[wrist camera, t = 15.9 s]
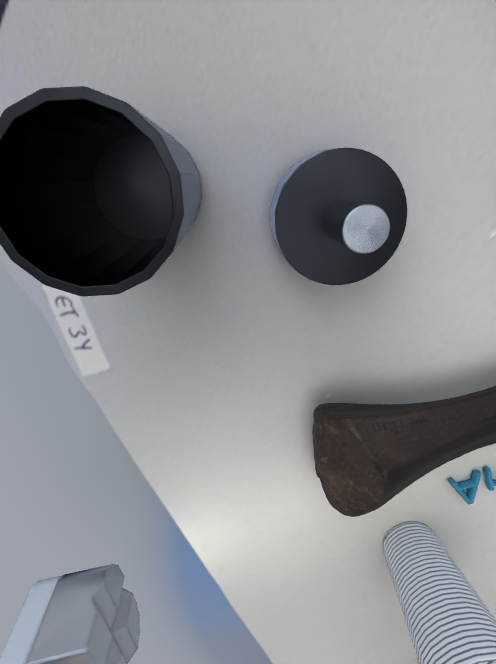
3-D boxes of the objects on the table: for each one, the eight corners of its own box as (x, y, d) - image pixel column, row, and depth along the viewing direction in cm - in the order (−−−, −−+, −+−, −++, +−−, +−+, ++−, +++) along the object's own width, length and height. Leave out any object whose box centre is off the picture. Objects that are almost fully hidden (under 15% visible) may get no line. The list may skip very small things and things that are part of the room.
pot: (99, 247, 36) (6, 301, 21) (80, 131, 33) (-48, 92, 18) (205, 241, 37) (191, 289, 21) (196, 125, 33) (171, 82, 18)
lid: (275, 285, 35) (287, 311, 28) (271, 152, 31) (284, 145, 25) (396, 278, 35) (437, 302, 28) (406, 145, 31) (455, 137, 25)
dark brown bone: (301, 445, 46) (533, 359, 48) (342, 544, 39) (613, 440, 41) (290, 391, 38) (571, 291, 40) (340, 504, 31) (678, 377, 33)
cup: (452, 513, 48) (551, 659, 34) (433, 569, 51) (516, 726, 37) (379, 510, 48) (448, 657, 33) (364, 567, 50) (421, 726, 36)
